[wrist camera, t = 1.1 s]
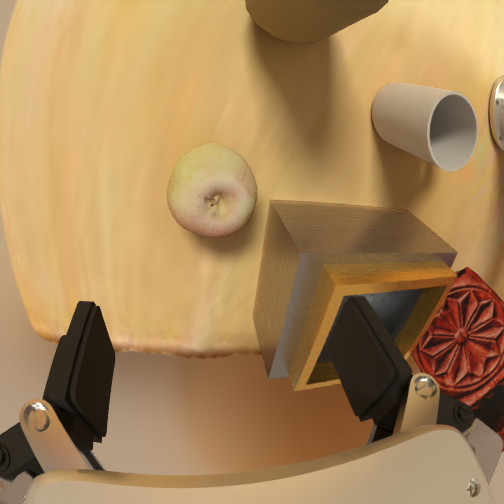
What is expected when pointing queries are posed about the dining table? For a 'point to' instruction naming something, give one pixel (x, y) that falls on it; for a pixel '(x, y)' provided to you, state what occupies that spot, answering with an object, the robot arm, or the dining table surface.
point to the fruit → (212, 191)
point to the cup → (427, 123)
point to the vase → (468, 349)
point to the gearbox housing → (343, 281)
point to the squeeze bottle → (309, 17)
